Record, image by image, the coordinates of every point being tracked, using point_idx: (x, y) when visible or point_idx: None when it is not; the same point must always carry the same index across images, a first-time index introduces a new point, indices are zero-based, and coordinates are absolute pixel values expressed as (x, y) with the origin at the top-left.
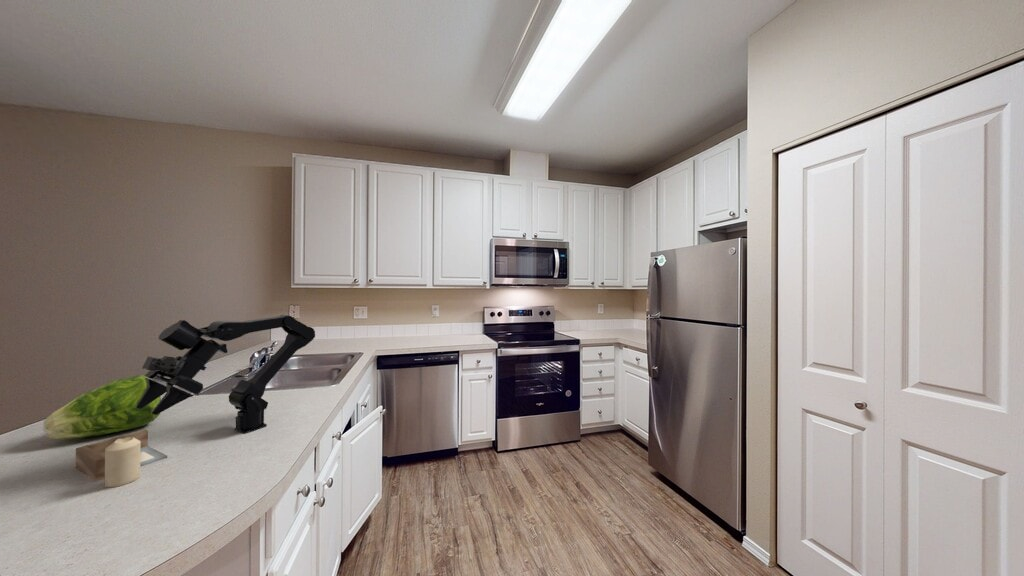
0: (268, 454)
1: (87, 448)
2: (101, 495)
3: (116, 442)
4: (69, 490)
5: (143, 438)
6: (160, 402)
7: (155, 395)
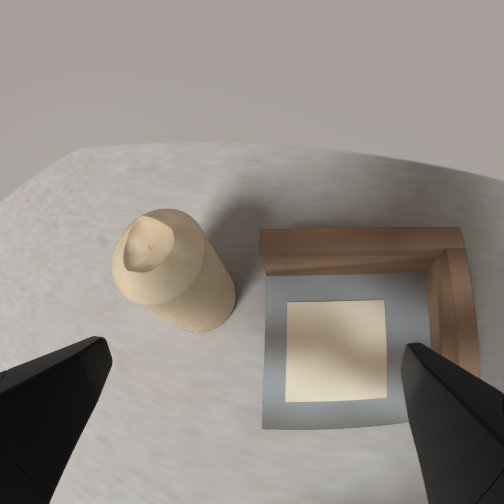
0: None
1: (428, 244)
2: None
3: (167, 231)
4: (271, 216)
5: None
6: (28, 367)
7: (443, 489)
